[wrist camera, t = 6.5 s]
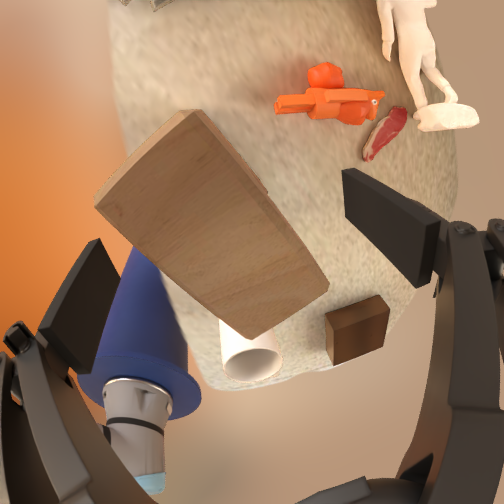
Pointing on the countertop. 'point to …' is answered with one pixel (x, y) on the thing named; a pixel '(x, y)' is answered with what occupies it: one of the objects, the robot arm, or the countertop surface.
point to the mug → (249, 355)
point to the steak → (384, 132)
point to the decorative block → (211, 226)
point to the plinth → (356, 329)
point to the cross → (152, 3)
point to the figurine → (421, 64)
